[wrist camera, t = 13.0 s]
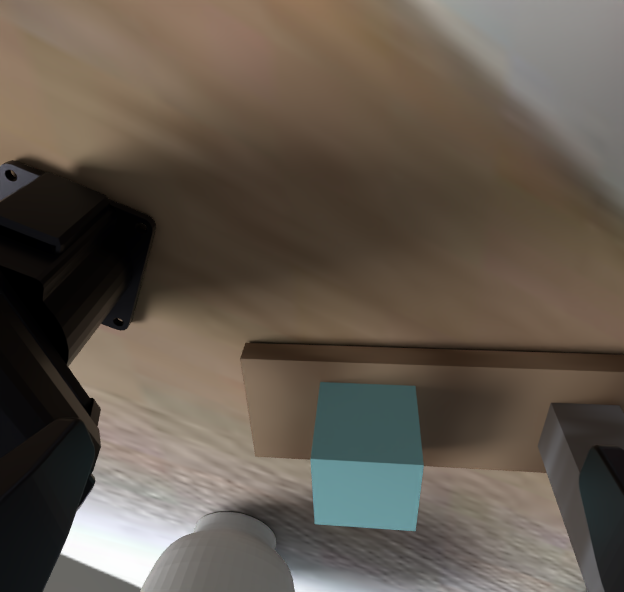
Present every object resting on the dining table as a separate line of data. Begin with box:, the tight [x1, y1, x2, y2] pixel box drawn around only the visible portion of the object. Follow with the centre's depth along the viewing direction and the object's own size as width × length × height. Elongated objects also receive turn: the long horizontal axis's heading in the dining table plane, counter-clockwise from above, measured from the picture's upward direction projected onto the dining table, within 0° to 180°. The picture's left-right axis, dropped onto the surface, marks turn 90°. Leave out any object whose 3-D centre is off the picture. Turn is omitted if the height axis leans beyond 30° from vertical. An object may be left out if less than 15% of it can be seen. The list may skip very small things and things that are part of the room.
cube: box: [311, 382, 424, 531], centre depth 23 cm, size 4×4×4 cm
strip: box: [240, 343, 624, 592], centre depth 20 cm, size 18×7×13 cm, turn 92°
